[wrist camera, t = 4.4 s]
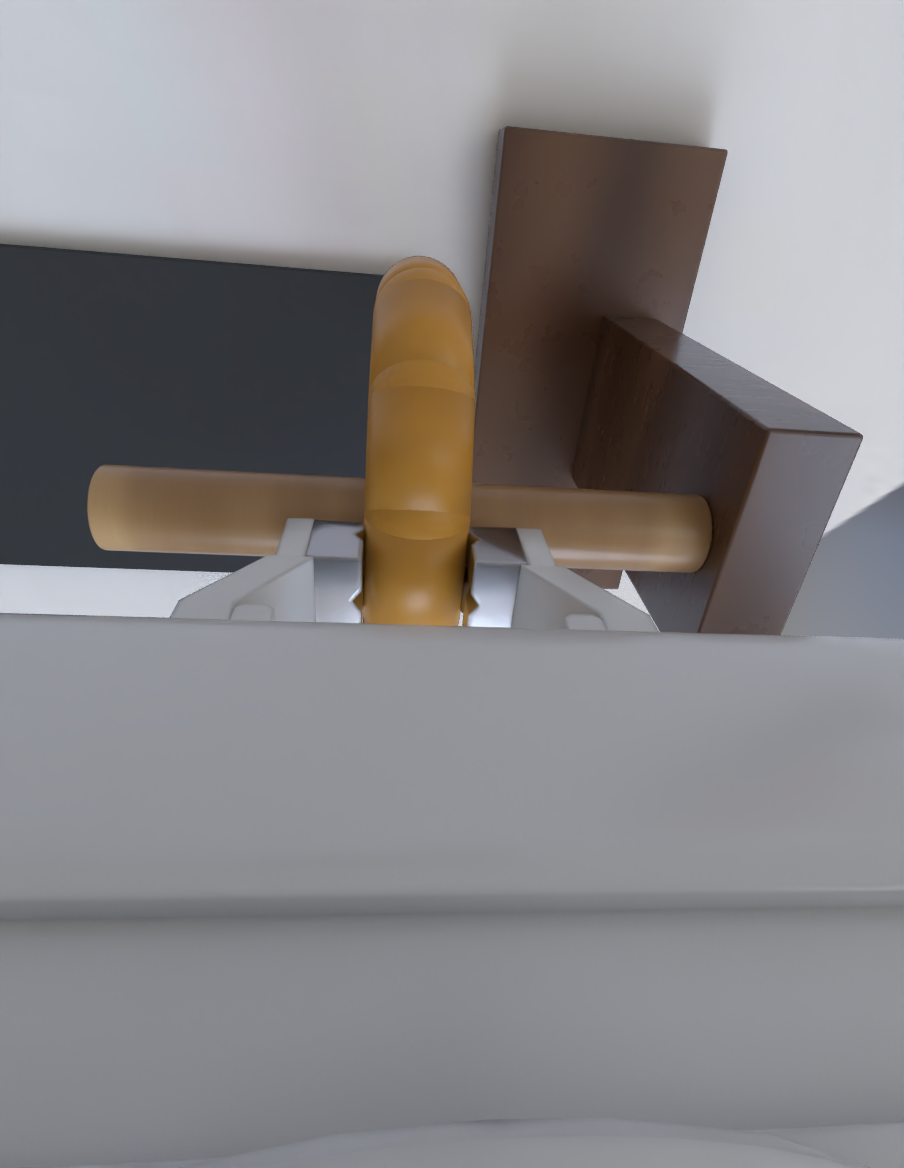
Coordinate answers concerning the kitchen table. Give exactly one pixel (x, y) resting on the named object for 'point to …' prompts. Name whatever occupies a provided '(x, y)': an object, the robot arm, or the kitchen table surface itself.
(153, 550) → the rack
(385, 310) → the ring
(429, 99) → the kitchen table surface
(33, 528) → the mat
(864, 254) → the kitchen table surface
